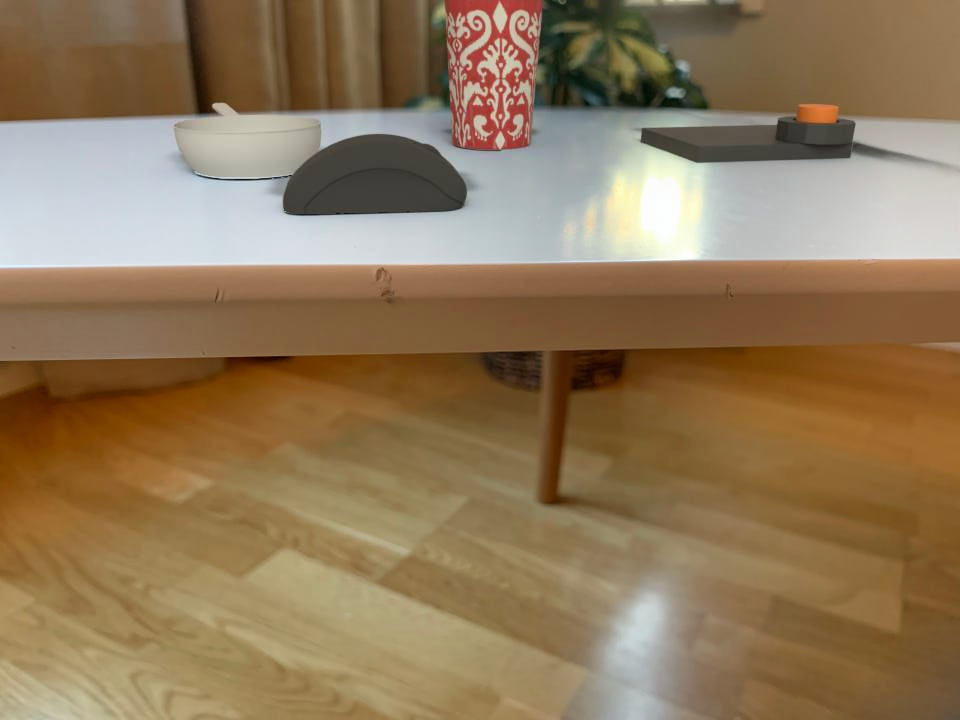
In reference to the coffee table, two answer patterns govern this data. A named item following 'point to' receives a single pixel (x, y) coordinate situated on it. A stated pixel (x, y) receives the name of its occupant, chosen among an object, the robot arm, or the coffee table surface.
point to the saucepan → (247, 143)
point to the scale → (755, 141)
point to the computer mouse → (375, 178)
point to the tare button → (817, 113)
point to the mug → (492, 71)
